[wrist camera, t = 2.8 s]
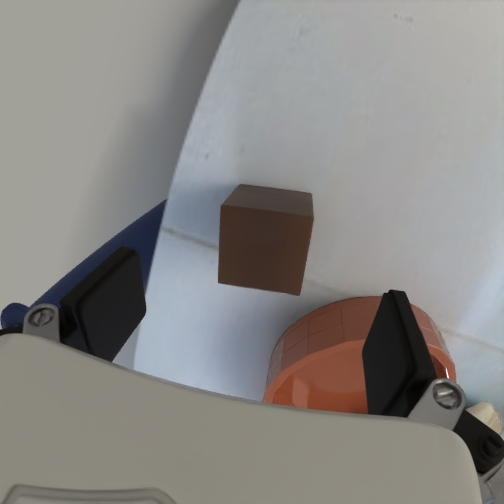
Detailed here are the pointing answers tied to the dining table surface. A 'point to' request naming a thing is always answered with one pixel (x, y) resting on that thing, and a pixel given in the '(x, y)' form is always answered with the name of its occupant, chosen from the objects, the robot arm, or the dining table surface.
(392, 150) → the dining table surface
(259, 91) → the dining table surface
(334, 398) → the bowl
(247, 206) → the block
